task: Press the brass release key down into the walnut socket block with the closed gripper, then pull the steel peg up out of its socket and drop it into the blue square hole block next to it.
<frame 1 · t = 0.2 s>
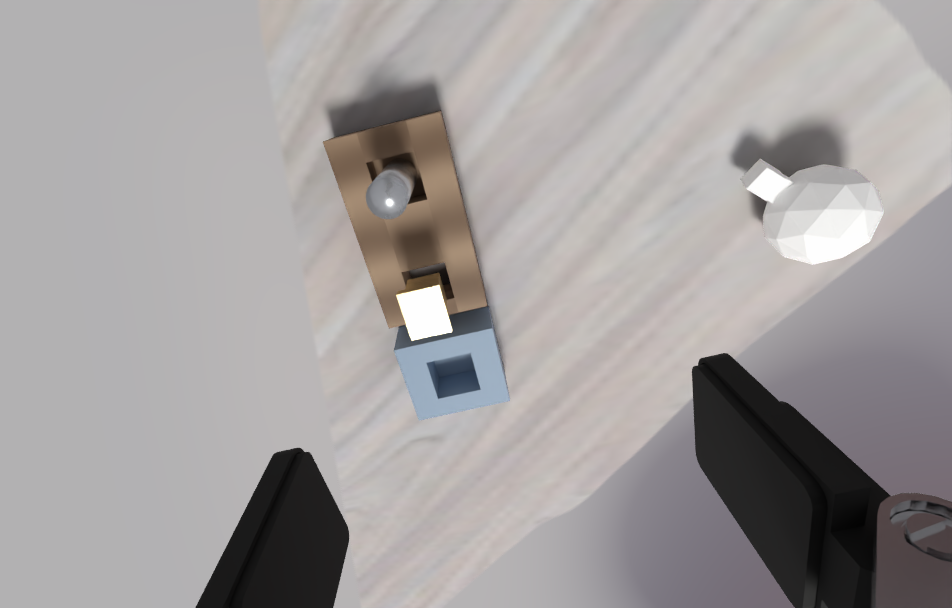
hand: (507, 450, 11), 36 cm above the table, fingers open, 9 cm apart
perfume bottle: (779, 192, 46), on the table
steel peg: (400, 175, 42), point 1 cm above the table, touching socket block
blue square hole block: (453, 351, 51), on the table
socket block: (415, 219, 45), on the table
release key: (426, 301, 40), point 8 cm above the table, slide at 4.0 cm
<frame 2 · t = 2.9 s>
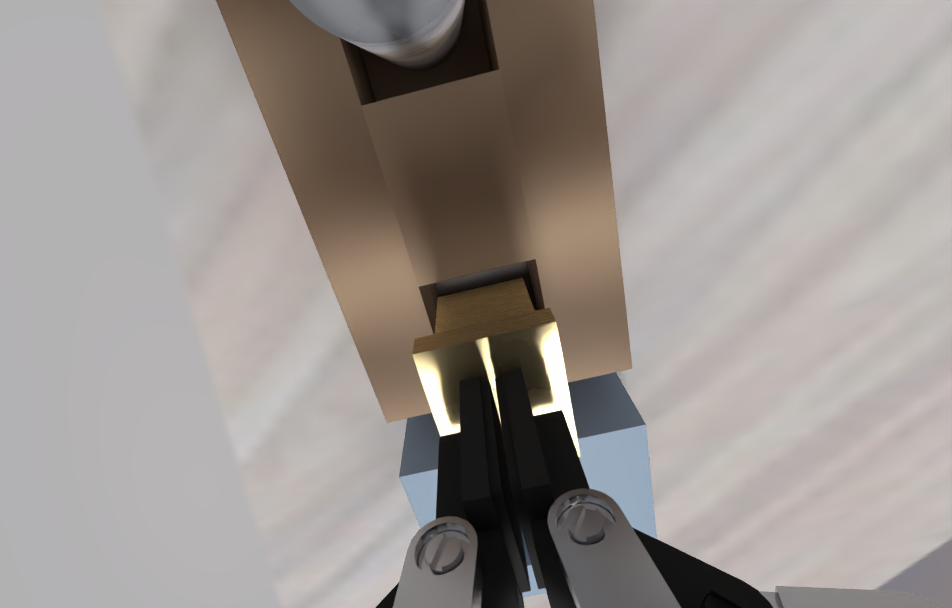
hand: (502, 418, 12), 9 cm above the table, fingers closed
steel peg: (416, 20, 15), point 1 cm above the table, touching socket block
blue square hole block: (524, 447, 25), on the table
socket block: (451, 154, 18), on the table
release key: (494, 360, 14), point 7 cm above the table, slide at 3.1 cm, touching gripper
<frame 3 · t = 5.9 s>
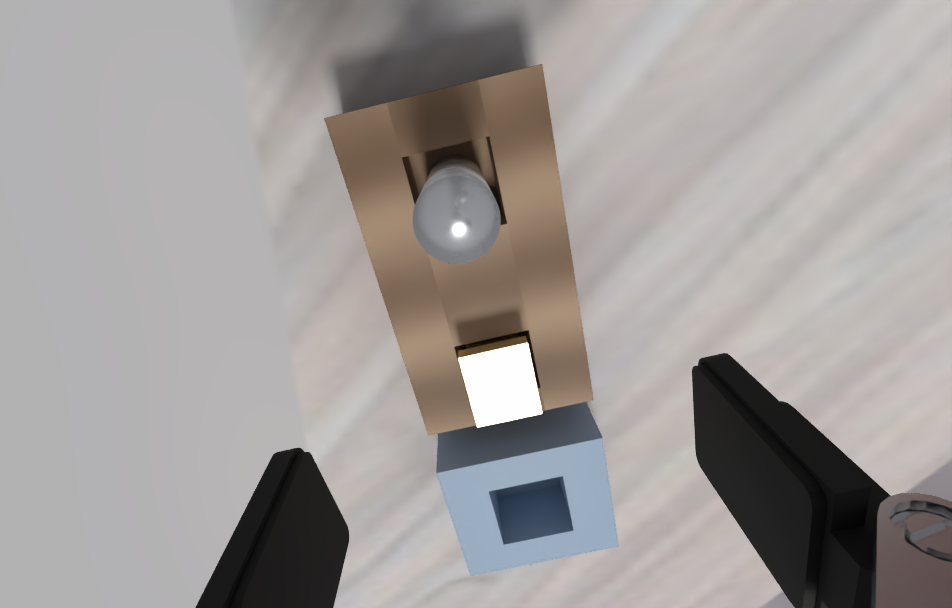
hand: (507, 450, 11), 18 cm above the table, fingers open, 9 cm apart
steel peg: (455, 183, 25), point 1 cm above the table, touching socket block
blue square hole block: (521, 456, 33), on the table
socket block: (473, 256, 27), on the table
release key: (497, 364, 26), point 4 cm above the table, slide at -0.1 cm
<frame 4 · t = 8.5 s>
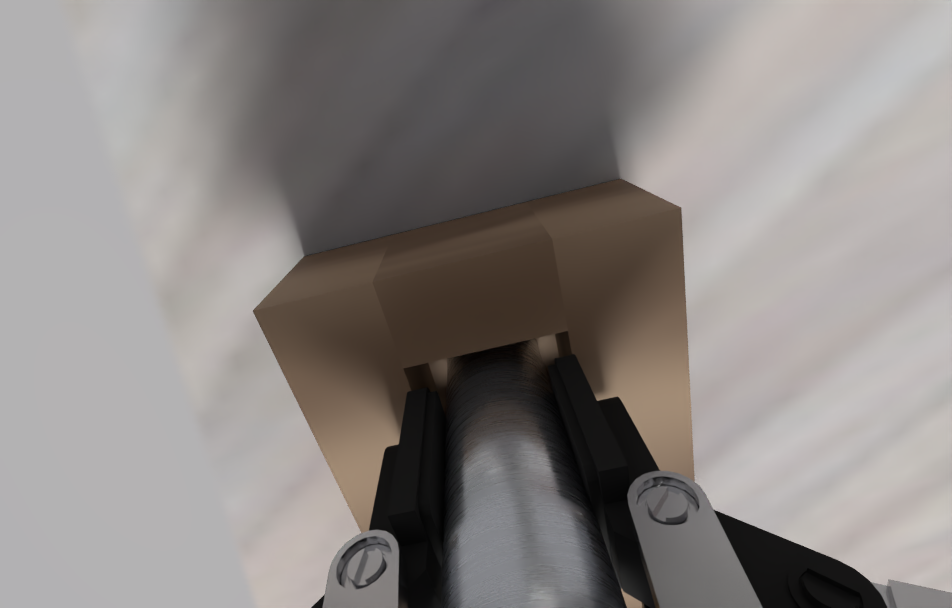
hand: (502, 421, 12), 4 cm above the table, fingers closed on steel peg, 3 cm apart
steel peg: (493, 357, 15), point 1 cm above the table, touching gripper, socket block
socket block: (516, 441, 18), on the table
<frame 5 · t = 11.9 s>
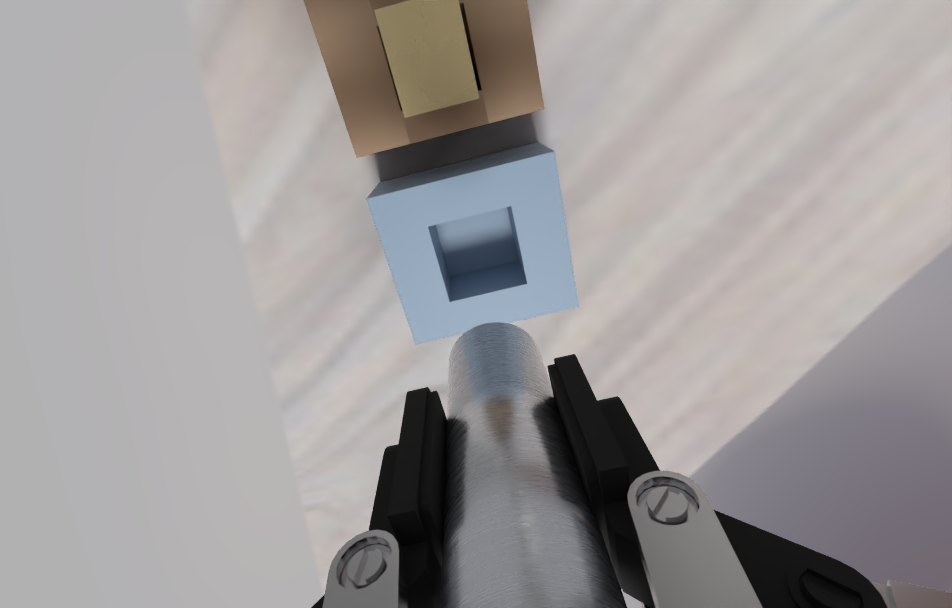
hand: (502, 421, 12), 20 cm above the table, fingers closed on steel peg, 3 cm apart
steel peg: (494, 363, 15), point 16 cm above the table, touching gripper
blue square hole block: (475, 231, 30), on the table
release key: (431, 59, 23), point 4 cm above the table, slide at -0.1 cm
when the fingers open (6 cm above the table, at t = 15.5 s): steel peg drops 1 cm, resting on blue square hole block.
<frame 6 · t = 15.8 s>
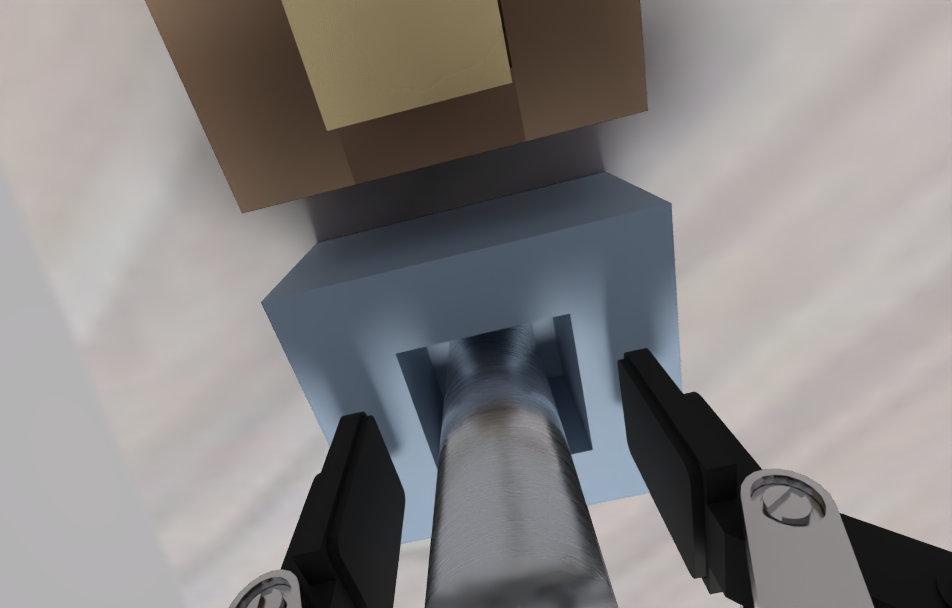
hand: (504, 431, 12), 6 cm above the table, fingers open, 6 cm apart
steel peg: (491, 340, 16), point 1 cm above the table, touching blue square hole block
blue square hole block: (488, 323, 17), on the table
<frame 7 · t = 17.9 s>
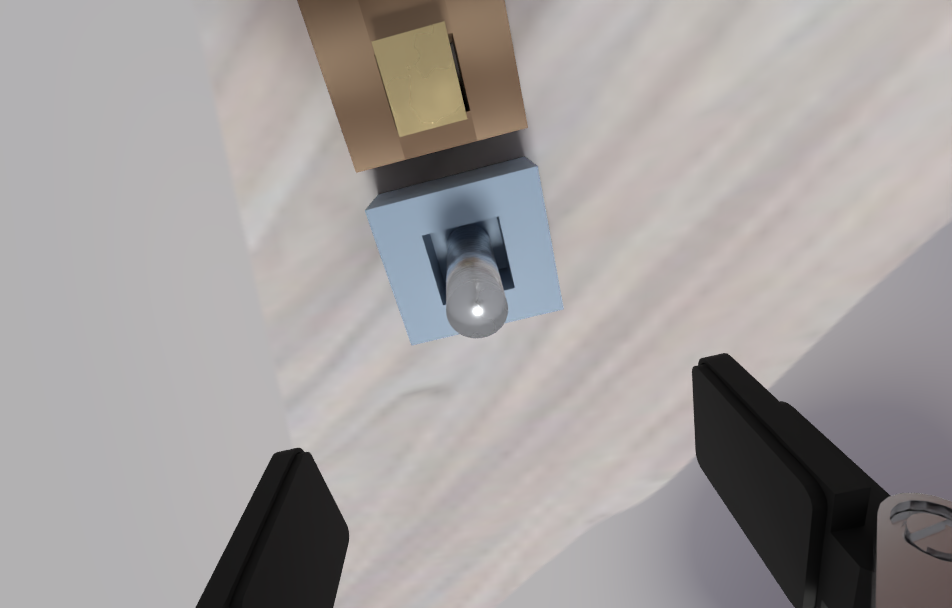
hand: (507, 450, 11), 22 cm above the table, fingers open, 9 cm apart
steel peg: (468, 246, 31), point 1 cm above the table, touching blue square hole block
blue square hole block: (467, 239, 32), on the table
release key: (424, 83, 25), point 4 cm above the table, slide at -0.1 cm
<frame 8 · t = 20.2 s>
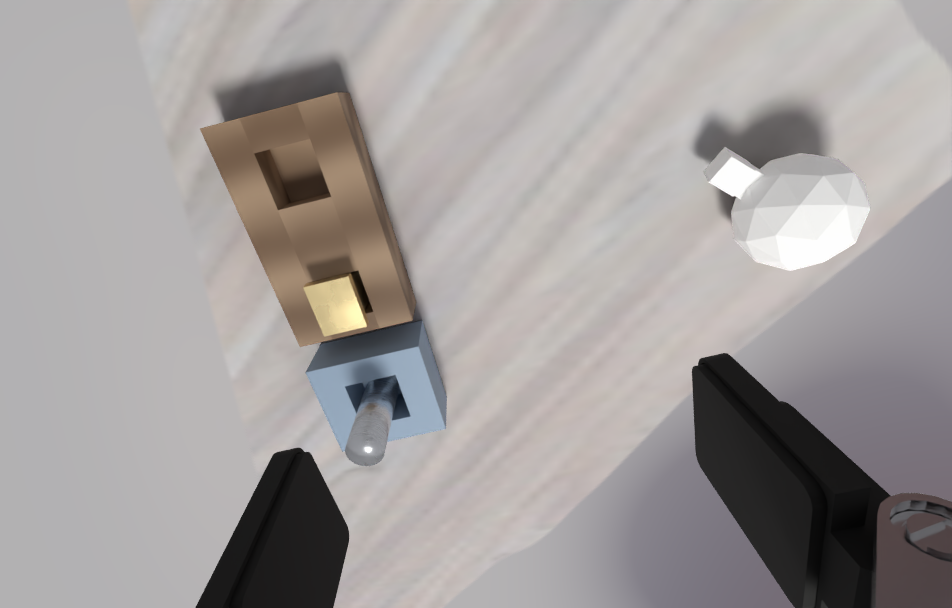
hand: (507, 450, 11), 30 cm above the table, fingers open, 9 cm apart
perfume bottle: (752, 187, 40), on the table
steel peg: (385, 378, 44), point 1 cm above the table, touching blue square hole block
blue square hole block: (386, 371, 45), on the table
socket block: (329, 221, 39), on the table
release key: (342, 295, 38), point 4 cm above the table, slide at -0.1 cm
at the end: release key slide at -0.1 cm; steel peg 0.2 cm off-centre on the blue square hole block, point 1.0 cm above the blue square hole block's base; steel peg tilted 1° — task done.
